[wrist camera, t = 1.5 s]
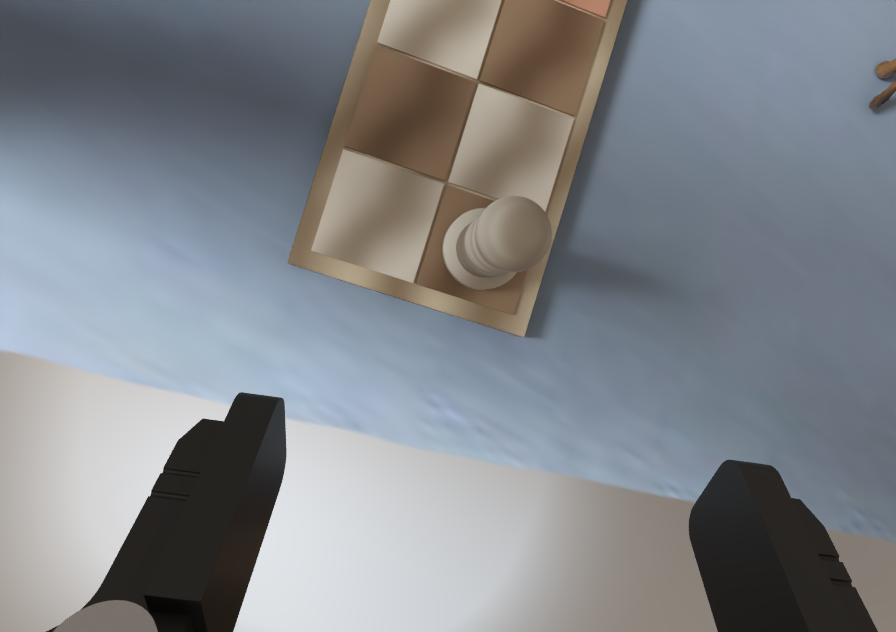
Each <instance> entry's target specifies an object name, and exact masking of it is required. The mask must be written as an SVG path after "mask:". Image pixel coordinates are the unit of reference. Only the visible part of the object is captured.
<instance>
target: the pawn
mask: <svg viewBox="0 0 896 632" xmlns="http://www.w3.org/2000/svg"><path fill="white" fill-rule="evenodd" d="M551 237H552V230H551V224H550V221H549V218H548V216H547V214H546V213H545V211H544V210H543V209H542V208H541V207H540V206H539V205H538V204H537V203H536V202H534V201H532V200H530V199H528V198H525V197H521V196H507V197H503V198H500V199H498V200H496V201H494V202H492V203H491V204H490V205H489V206H487V208H478V209H473V210H470V211H468V212H466V213H464V214H462V215H461V216H460V217H458V218H457V219H456V220H455V221H454V222H453V223H452V224H451V225H450V227H449V228H448V230H447V231H446V233H445V236H444V239H443V243H442V257H443V261H444V265H445V267H446V269H447V271H448V272H449V274H450V275H451V276H452V277H453V278H454V279H455V280H456V281H457V282H458V283H460V284H461V285H463V286H465V287H468V288H471V289H476V290H486V289H492V288H496V287H499V286H501V285H503V284H505V283H507V282H508V281H509V280H510V279H512V278H513V276H514V275H515V274H516V273H517V272H522V271H525V270H528V269H530V268H532V267H533V266H535V265H536V264H538V263H539V262H540V261H541V260H542V259H543V257H544V256H545V255H546V253H547V251H548V249H549V246H550V243H551Z"/></svg>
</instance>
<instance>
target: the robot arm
mask: <svg viewBox="0 0 896 632" xmlns="http://www.w3.org/2000/svg"><path fill="white" fill-rule="evenodd" d="M285 463H286V431H285V406H284V400H283V398H279V397H272V396H264V395H257V394H249V393H242V392H241V393H239V394H238V395H237V396H236V398H235V399H234V401H233V403H232V406H231V408H230V410H229V412H228V414H227V416H226V418H225V421H224V422H223V421H217V420H209V419H202V420H201V421H200V422H199V423H197V424H196V425H195V426H194V427H193V428H192V429H191V430H189V431H188V432H187V433H186V434H185V435H184V436H183V437H182V438H180V439H179V440H178V442H177V444H176V445H175V447H174V450H173V451H172V453H171V455H170V457H169V459H168V460H167V463H166V464H165V466H164V470H163V473H161V474H160V475H159V478H158V479H157V481H156V483H155V485H154V487H153V489H152V492H151V496H150V497H148V498H147V500H146V502H145V504H144V506H143V508H142V510H141V511H140V513H139V515H138V517H137V519H136V521H135V523H134V525H133V526H132V528H131V530H130V532H129V534H128V536H127V538H126V540H125V541H124V543H123V545H122V547H121V549H120V551H119V553H118V555H117V557H116V558H115V560H114V562H113V564H112V566H111V568H110V570H109V572H108V574H107V575H106V577H105V579H104V581H103V583H102V584H101V587H100V588H99V589H98V591H97V592H96V594H95V595H94V596H93V597H92V599H91V600H90V601H89V602H88V603H87V604H86V605H85V606H84V607H83V608H82V609H81V610H80V611H78V612H76V613H75V614H73V615H72V616H70V617H69V618H67V619H66V620H65V621H64V622H63V623H61V624H60V625H59V626H57V627H55V628H53V629H51V630H49V631H47V632H233V630H234V627H235V624H236V621H237V618H238V615H239V612H240V608H241V606H242V603H243V599H244V597H245V593H246V590H247V587H248V584H249V581H250V578H251V575H252V572H253V569H254V566H255V563H256V560H257V557H258V554H259V551H260V547H261V544H262V542H263V539H264V535H265V532H266V529H267V526H268V523H269V520H270V517H271V514H272V511H273V508H274V505H275V502H276V499H277V496H278V493H279V490H280V486H281V483H282V479H283V475H284V469H285ZM689 535H690V540H691V544H692V548H693V551H694V554H695V558H696V561H697V564H698V567H699V571H700V574H701V577H702V581H703V584H704V587H705V591H706V594H707V597H708V600H709V604H710V607H711V610H712V613H713V617H714V620H715V623H716V627H717V630H718V632H878V631H877V629H876V627H875V625H874V623H873V622H872V619H871V617H870V615H869V613H868V611H867V609H866V608H865V606H864V604H863V602H862V600H861V598H860V596H859V594H858V592H857V590H856V588H855V587H852V585H851V582H852V580H851V578H850V576H849V574H848V572H847V570H846V568H845V566H844V565H843V563H842V562H839V555H838V553H837V551H836V549H835V547H834V545H833V543H832V541H831V539H830V537H829V535H828V533H827V531H826V529H825V527H824V526H823V525H822V524H821V522H820V521H819V520H818V519H817V518H816V517H815V516H814V515H813V513H812V512H811V511H810V510H809V509H808V508H807V507H806V506H805V504H804V503H803V502H802V501H801V500H800V499H794V498H791V497H790V494H789V492H788V490H787V488H786V486H785V484H784V482H783V480H782V478H781V476H780V474H779V472H778V471H777V470H776V469H775V468H774V467H772V466H770V465H765V464H757V463H750V462H743V461H735V460H726V461H724V462H723V463H722V464H721V466H720V467H719V468H718V470H717V471H716V473H715V474H714V476H713V477H712V479H711V480H710V482H709V483H708V485H707V486H706V488H705V489H704V491H703V492H702V494H701V495H700V497H699V498H698V500H697V501H696V503H695V504H694V506H693V508H692V510H691V514H690V519H689Z"/></svg>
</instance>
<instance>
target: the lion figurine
mask: <svg viewBox="0 0 896 632" xmlns="http://www.w3.org/2000/svg"><path fill="white" fill-rule="evenodd" d="M895 71H896V59H894V60H893V61H891V62H888V61H885V62H882V63H880V64H879V65H878V66H877V67H876V73H877V75H878V77H879V78H881V79H885V78H888V77H890V76H892V75H893V74H894V73H895ZM895 91H896V81H895V82H894V83H893V84H891V85H890V86H889V87H888V88H887V89H886V90H885V91H884V92H882V93H881V94H880V95H878V96H876V97H874V98H873V100H872V101H871V102H870V104H869V108H870V109H871V110H874V109H876V108H878V107H879V106H880V105H881V104H883V103H885V102H886V101H887V100H889V98H890V97H891V96H892V95H893V93H894V92H895Z"/></svg>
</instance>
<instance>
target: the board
mask: <svg viewBox="0 0 896 632" xmlns="http://www.w3.org/2000/svg"><path fill="white" fill-rule="evenodd" d="M626 3H627V0H371V2H370V5H369V8H368V11H367V14H366V17H365V21H364V24H363V27H362V30H361V33H360V36H359V39H358V43H357V46H356V49H355V52H354V55H353V58H352V61H351V65H350V68H349V71H348V74H347V77H346V80H345V83H344V87H343V90H342V93H341V96H340V99H339V102H338V105H337V109H336V112H335V115H334V118H333V121H332V124H331V127H330V131H329V134H328V137H327V140H326V143H325V146H324V150H323V153H322V156H321V159H320V162H319V165H318V168H317V172H316V175H315V178H314V181H313V184H312V187H311V190H310V194H309V197H308V200H307V203H306V206H305V209H304V212H303V216H302V219H301V222H300V225H299V228H298V231H297V234H296V238H295V241H294V244H293V247H292V250H291V253H290V256H289V260H288V263H289V264H291V265H294V266H298V267H301V268H304V269H307V270H310V271H313V272H317V273H320V274H323V275H326V276H329V277H332V278H336V279H339V280H342V281H345V282H348V283H352V284H355V285H358V286H361V287H364V288H367V289H371V290H374V291H377V292H380V293H383V294H387V295H390V296H393V297H396V298H399V299H402V300H406V301H409V302H412V303H415V304H418V305H422V306H425V307H428V308H431V309H434V310H437V311H441V312H444V313H447V314H450V315H453V316H456V317H460V318H463V319H466V320H469V321H472V322H476V323H479V324H482V325H485V326H488V327H491V328H495V329H498V330H501V331H504V332H507V333H511V334H514V335H517V336H521V337H524V336H525V332H526V329H527V326H528V323H529V319H530V316H531V313H532V310H533V306H534V303H535V300H536V297H537V293H538V290H539V287H540V284H541V280H542V277H543V274H544V271H545V267H546V264H547V261H548V258H549V254H550V251H551V248H552V245H553V241H554V238H555V235H556V231H557V228H558V225H559V222H560V218H561V215H562V212H563V209H564V205H565V202H566V199H567V196H568V192H569V189H570V186H571V183H572V179H573V176H574V173H575V170H576V166H577V163H578V160H579V157H580V153H581V150H582V147H583V144H584V140H585V137H586V134H587V130H588V127H589V124H590V121H591V117H592V114H593V111H594V108H595V104H596V101H597V98H598V95H599V91H600V88H601V85H602V82H603V78H604V75H605V72H606V69H607V65H608V62H609V59H610V56H611V52H612V49H613V46H614V43H615V39H616V36H617V33H618V30H619V26H620V23H621V20H622V16H623V13H624V10H625V7H626ZM507 196H521V197H525V198H528V199H530V200H532V201H534V202H536V203H537V204H538V205H539V206H540V207H541V208H542V209H543V210H544V211H545V213H546V214H547V216H548V218H549V221H550V224H551V230H552V237H551V243H550V246H549V249H548V251H547V253H546V255H545V256H544V257H543V259H542V260H541V261H540V262H539V263H538V264H536V265H535V266H533V267H532V268H530V269H528V270H525V271H522V272H517V273H516V274H515V275H514V276H513V278H512V279H510V280H509V281H508V282H507V283H505V284H503V285H501V286H499V287H496V288H492V289H486V290H476V289H471V288H468V287H465V286H463V285H461V284H460V283H458V282H457V281H456V280H455V279H454V278H453V277H452V276H451V275H450V274H449V272H448V271H447V269H446V267H445V265H444V261H443V257H442V243H443V239H444V236H445V233H446V231H447V230H448V228H449V227H450V225H451V224H452V223H453V222H454V221H455V220H456V219H457V218H458V217H460V216H461V215H462V214H464V213H466V212H468V211H470V210H473V209H478V208H487V206H489V205H490V204H491V203H492V202H494V201H496V200H498V199H500V198H503V197H507Z"/></svg>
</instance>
